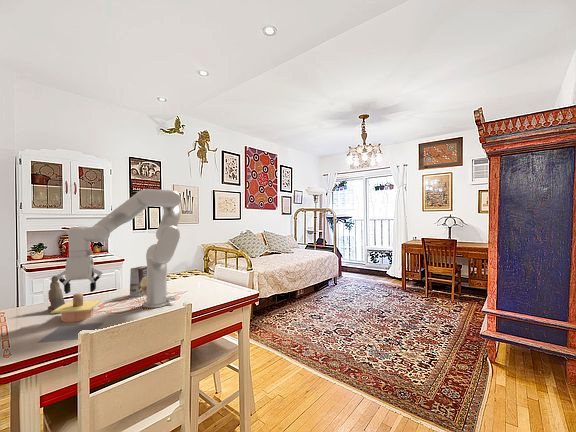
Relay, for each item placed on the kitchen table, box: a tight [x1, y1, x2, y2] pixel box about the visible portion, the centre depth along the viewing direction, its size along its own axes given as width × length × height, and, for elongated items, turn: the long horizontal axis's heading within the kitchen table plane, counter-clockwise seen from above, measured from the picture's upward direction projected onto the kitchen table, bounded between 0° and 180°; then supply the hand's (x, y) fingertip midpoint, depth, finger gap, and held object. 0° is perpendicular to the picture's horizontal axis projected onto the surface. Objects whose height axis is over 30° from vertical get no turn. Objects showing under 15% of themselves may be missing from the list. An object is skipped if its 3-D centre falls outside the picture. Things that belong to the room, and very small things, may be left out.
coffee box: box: [129, 265, 147, 298], centre depth 164 cm, size 9×6×16 cm
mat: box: [36, 322, 105, 344], centre depth 109 cm, size 16×16×1 cm
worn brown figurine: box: [47, 275, 66, 315], centre depth 135 cm, size 12×6×18 cm, turn 54°
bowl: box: [60, 308, 94, 323], centre depth 125 cm, size 11×11×5 cm
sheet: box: [50, 293, 103, 314], centre depth 125 cm, size 14×14×6 cm
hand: (80, 291), depth 125 cm, fingers open, 9 cm apart
